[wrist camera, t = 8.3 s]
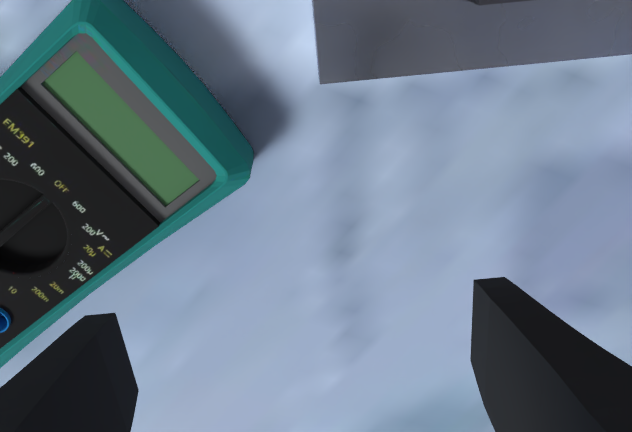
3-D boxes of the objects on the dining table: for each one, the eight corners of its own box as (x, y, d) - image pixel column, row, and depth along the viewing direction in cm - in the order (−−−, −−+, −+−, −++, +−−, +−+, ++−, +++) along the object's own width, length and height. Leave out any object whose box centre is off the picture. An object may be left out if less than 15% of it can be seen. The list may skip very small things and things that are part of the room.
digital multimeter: (-161, 236, 22) (-224, 278, 19) (113, -26, 18) (82, -17, 15) (-2, 353, 25) (-38, 404, 22) (265, 148, 21) (260, 180, 18)
